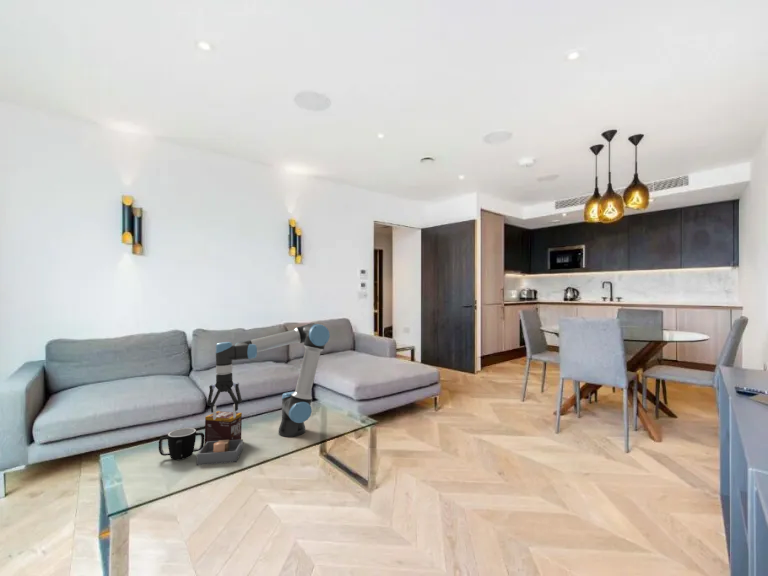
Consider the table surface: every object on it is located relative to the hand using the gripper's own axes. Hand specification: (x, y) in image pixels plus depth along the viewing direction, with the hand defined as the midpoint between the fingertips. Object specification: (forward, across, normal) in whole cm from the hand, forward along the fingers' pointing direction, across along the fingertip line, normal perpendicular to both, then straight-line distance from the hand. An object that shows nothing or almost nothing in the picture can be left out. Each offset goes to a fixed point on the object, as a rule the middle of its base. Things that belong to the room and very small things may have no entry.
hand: (224, 418), depth 182 cm
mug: (+17, +20, +1) cm, 26 cm away
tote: (+18, +1, +4) cm, 18 cm away
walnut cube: (+17, +1, 0) cm, 17 cm away
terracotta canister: (+17, +1, +8) cm, 18 cm away
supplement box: (+18, +4, -13) cm, 22 cm away
